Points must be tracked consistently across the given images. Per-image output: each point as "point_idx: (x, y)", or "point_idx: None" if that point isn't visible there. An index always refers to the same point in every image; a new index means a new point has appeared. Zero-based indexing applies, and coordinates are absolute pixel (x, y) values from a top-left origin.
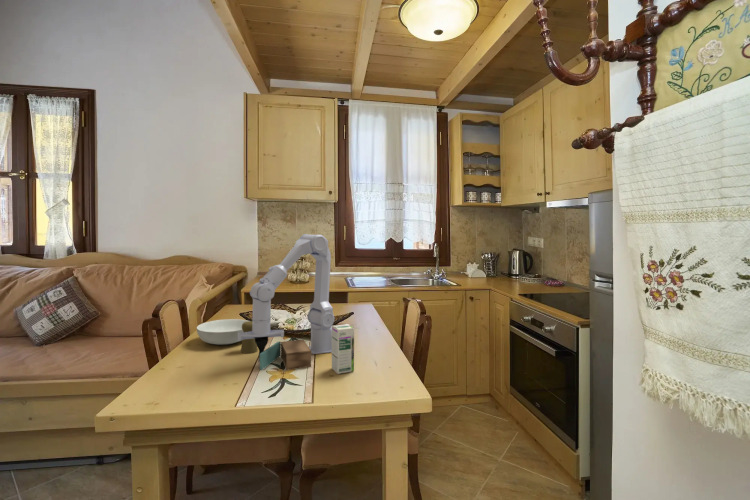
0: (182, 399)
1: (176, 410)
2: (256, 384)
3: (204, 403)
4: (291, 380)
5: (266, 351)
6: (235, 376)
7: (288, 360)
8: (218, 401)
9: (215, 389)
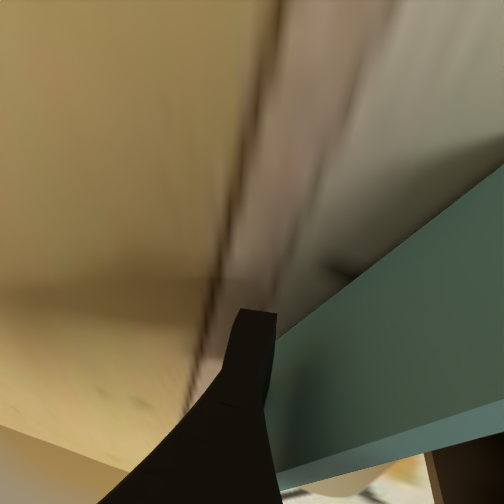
0: (12, 406)
1: (34, 435)
2: None
3: (86, 443)
4: (375, 481)
5: (287, 483)
6: (123, 354)
7: (448, 495)
8: (120, 452)
9: (81, 404)
